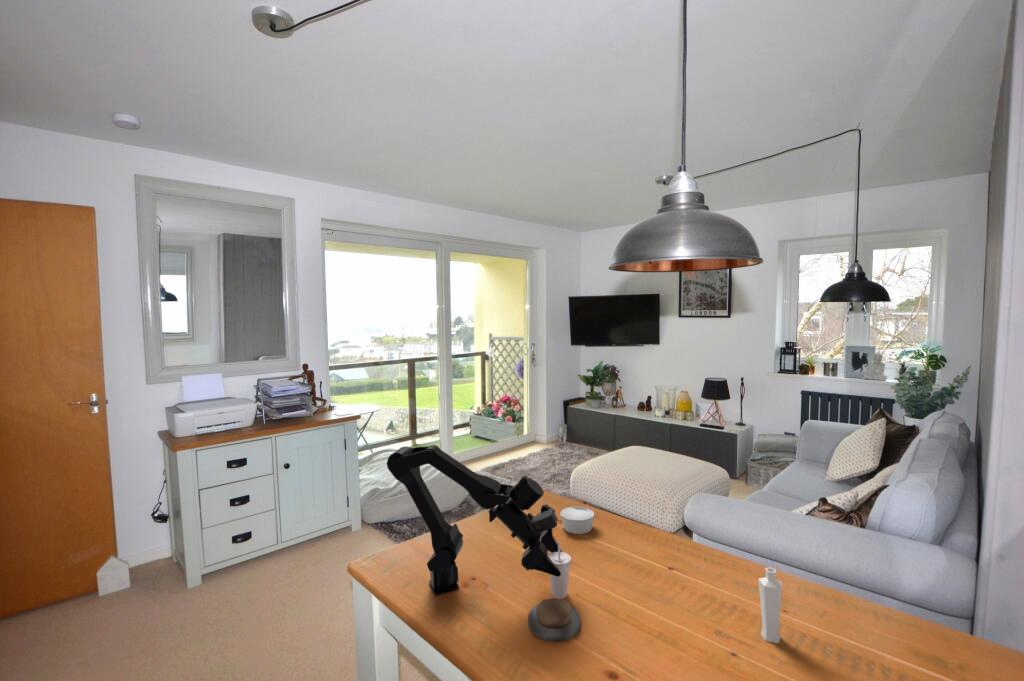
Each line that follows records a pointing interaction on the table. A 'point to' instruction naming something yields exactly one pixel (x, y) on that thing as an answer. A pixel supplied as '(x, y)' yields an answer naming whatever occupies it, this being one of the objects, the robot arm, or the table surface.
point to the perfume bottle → (770, 605)
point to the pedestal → (554, 620)
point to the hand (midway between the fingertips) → (561, 565)
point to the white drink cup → (563, 565)
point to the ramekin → (577, 519)
